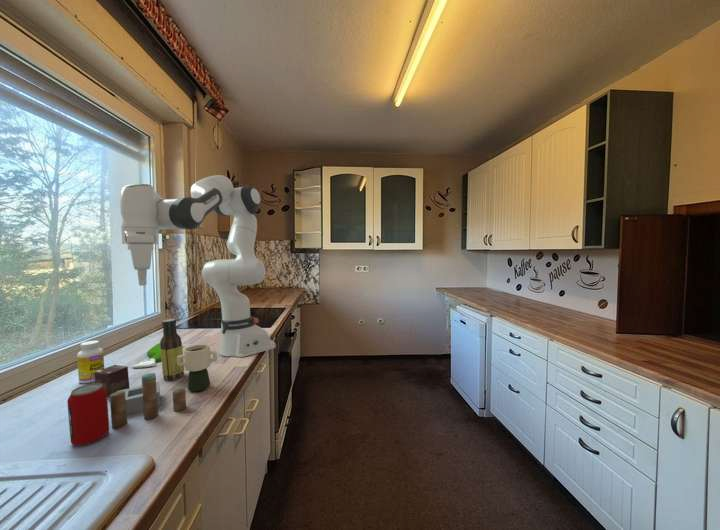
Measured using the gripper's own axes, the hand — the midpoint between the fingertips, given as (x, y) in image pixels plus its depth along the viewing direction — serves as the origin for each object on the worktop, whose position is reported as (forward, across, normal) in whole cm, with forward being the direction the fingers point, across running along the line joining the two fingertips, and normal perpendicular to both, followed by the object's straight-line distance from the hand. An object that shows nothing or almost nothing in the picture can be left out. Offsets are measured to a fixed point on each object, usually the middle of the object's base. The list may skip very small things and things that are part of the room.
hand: (142, 284), depth 92 cm
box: (+34, -8, -8) cm, 35 cm away
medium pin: (+34, +16, -6) cm, 38 cm away
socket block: (+34, +8, -2) cm, 34 cm away
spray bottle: (+33, -36, +5) cm, 49 cm away
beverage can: (+34, +19, -11) cm, 41 cm away
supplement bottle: (+33, -24, -15) cm, 44 cm away
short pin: (+34, +17, +7) cm, 38 cm away
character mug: (+33, +6, +13) cm, 36 cm away
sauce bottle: (+33, -8, +8) cm, 35 cm away
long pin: (+34, +17, 0) cm, 37 cm away
